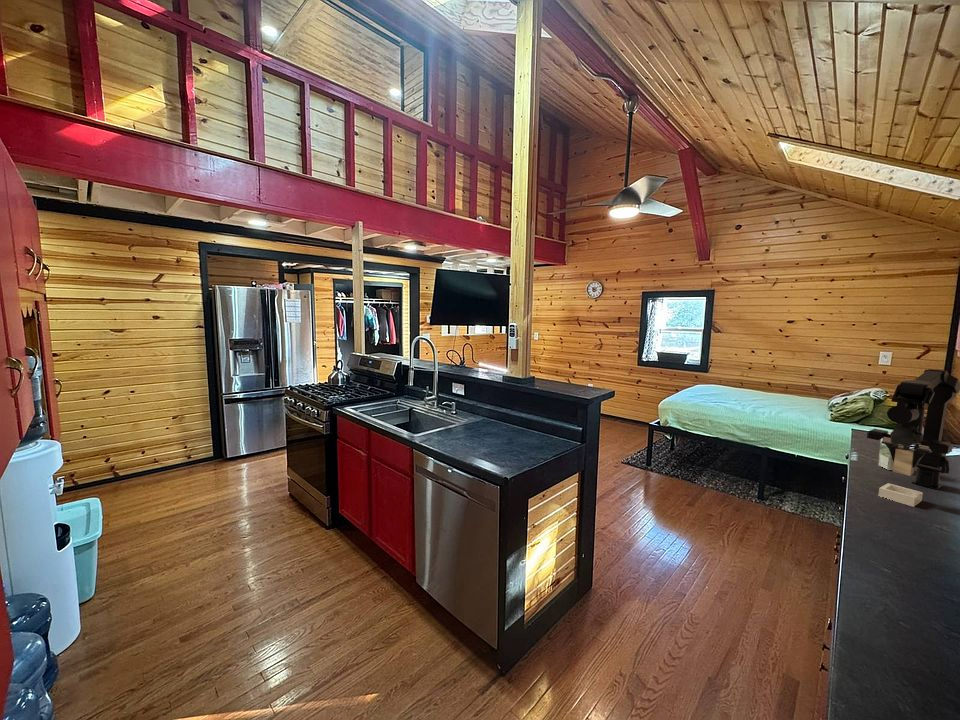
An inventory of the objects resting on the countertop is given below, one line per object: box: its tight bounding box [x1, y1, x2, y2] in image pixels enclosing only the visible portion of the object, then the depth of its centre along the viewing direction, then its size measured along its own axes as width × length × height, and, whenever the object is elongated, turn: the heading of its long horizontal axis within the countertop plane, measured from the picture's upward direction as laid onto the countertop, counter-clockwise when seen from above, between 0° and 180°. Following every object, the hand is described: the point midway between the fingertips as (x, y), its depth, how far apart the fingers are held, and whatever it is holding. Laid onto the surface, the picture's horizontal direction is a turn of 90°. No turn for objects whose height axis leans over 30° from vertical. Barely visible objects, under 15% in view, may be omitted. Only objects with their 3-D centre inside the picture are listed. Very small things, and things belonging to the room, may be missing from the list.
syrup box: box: [877, 431, 904, 472], centre depth 159 cm, size 6×6×14 cm
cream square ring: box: [877, 482, 924, 508], centre depth 133 cm, size 8×8×3 cm
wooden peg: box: [892, 446, 916, 477], centre depth 132 cm, size 4×4×9 cm
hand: (904, 465), depth 132 cm, fingers closed on wooden peg, 4 cm apart
